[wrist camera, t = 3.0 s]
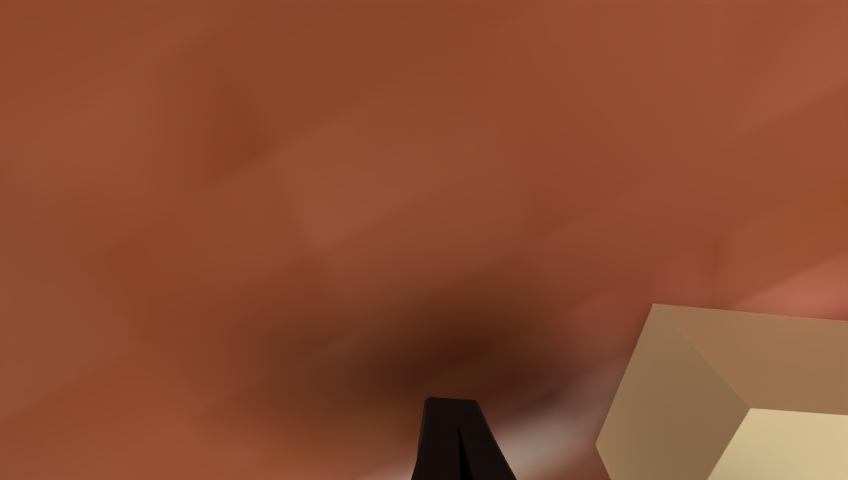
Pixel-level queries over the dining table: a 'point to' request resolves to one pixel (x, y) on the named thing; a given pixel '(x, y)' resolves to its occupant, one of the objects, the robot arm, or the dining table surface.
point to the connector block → (731, 399)
